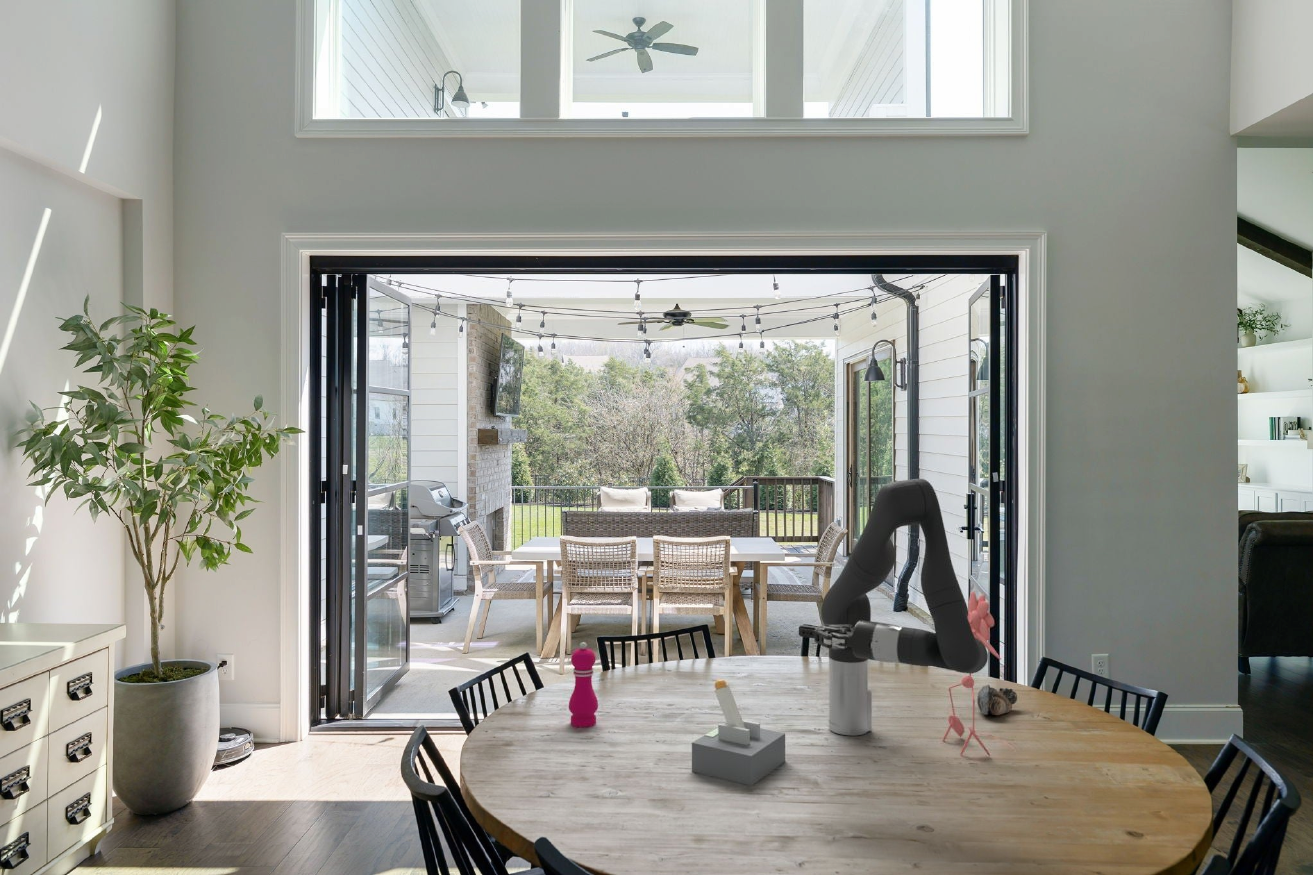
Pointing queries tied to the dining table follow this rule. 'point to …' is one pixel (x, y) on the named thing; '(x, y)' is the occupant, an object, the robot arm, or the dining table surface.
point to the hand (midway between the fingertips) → (800, 630)
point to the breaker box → (738, 752)
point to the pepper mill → (583, 688)
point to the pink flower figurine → (980, 629)
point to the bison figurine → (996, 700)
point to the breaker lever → (728, 704)
